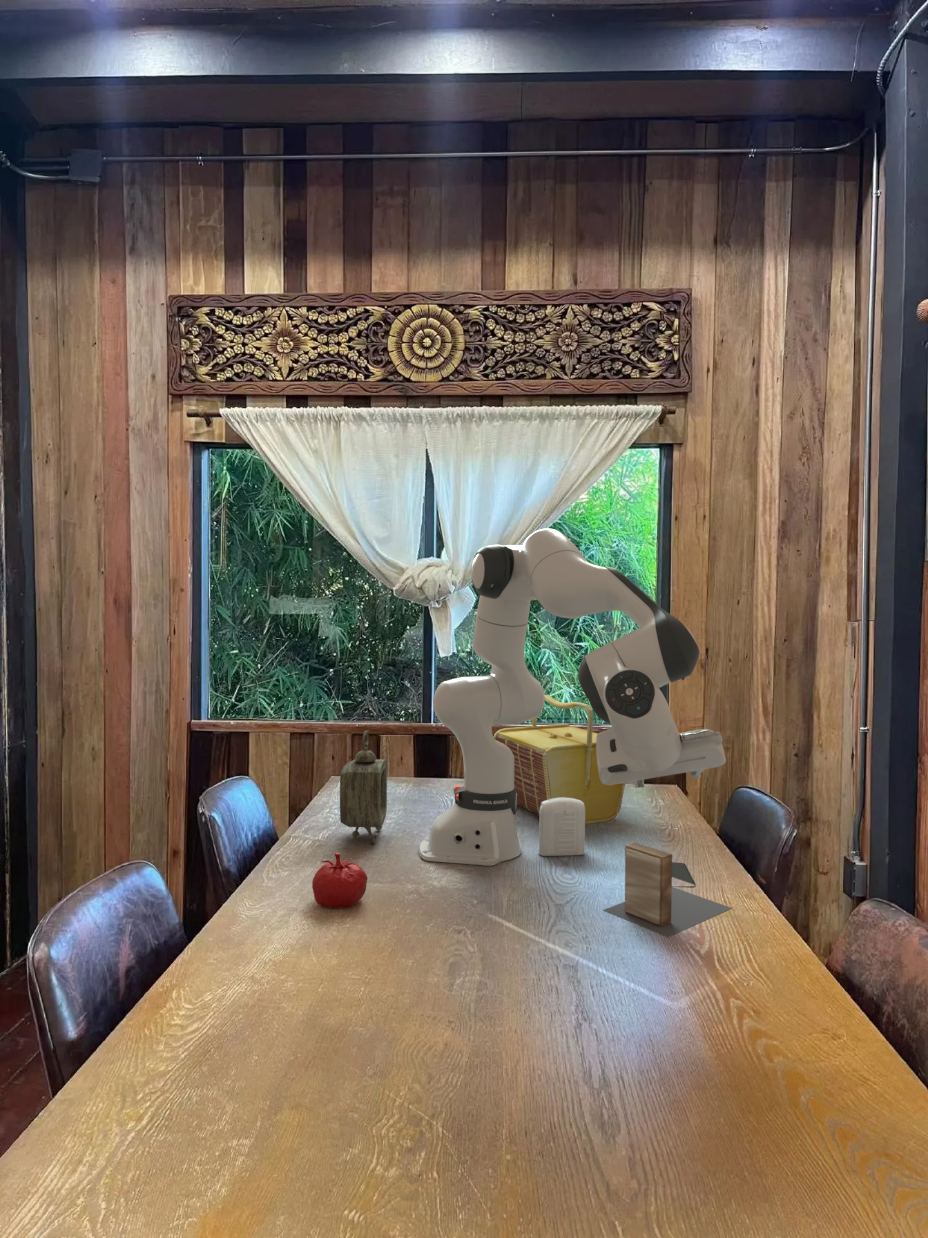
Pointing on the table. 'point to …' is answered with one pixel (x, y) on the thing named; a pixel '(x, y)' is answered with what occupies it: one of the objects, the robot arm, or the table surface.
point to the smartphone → (682, 874)
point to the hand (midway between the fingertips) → (667, 778)
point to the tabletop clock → (364, 792)
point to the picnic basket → (560, 766)
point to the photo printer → (561, 827)
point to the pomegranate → (339, 884)
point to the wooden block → (648, 884)
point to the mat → (676, 913)
